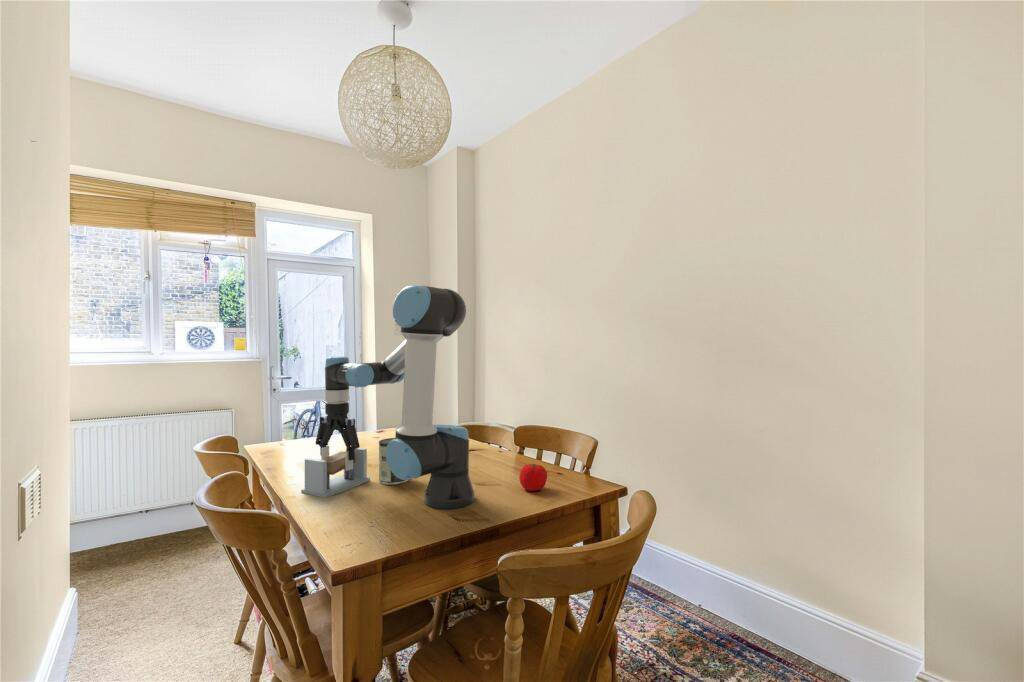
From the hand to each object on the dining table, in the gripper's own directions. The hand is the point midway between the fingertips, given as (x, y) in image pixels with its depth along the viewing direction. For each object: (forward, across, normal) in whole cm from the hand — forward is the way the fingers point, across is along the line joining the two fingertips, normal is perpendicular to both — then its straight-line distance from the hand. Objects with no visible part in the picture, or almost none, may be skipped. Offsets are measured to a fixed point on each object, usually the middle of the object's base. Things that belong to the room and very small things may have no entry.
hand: (337, 467), depth 156 cm
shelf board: (0, 0, 0) cm, 0 cm away
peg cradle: (+6, 0, 0) cm, 6 cm away
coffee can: (+7, -13, -14) cm, 20 cm away
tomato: (+7, -61, -26) cm, 66 cm away
